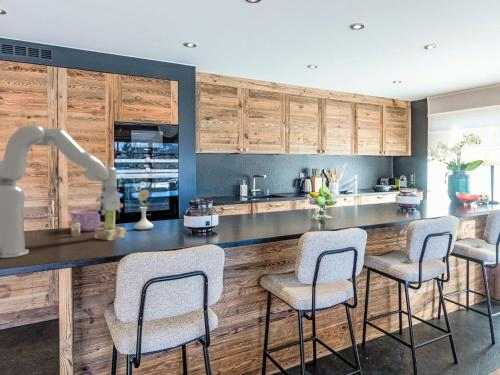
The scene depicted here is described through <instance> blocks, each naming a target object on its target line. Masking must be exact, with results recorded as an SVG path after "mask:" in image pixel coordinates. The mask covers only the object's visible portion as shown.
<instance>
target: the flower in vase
mask: <svg viewBox="0 0 500 375" xmlns="http://www.w3.org/2000/svg"><path fill="white" fill-rule="evenodd" d="M149 196H150V191H149V190H147V189H142V190H140V192H138V196H137V200H138V201H139V203H141V204H142V205H144V206H140V207H139V209H140V211H141V218H140V220H139V221H138V222H137V223H136V224H135V225H134V226H133V227H134V228H135V229H136V230H150V229H152V228H154V224H153V223H152V222H150V221H149V220H148V219H147V216H146V215H147V214H146V213H147V209H148V206H150V205H151V204H150V202H149V201H147V199H148V198H149ZM143 201H145V203H144V202H143Z"/></svg>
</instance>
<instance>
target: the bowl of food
mask: <svg viewBox="0 0 500 375" xmlns="http://www.w3.org/2000/svg"><path fill="white" fill-rule="evenodd" d="M69 215H70V217H71V221H72V223H80V232H81V231H82V232H90V231H91V232H92V231H95V229H97V228H101V226H102V225H103V224H104V222H100V215H99V213H98V212H97V210H96V208H94V209H93V208H92V209H91V208H87V209H77V210H70V212H69Z"/></svg>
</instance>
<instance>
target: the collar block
mask: <svg viewBox="0 0 500 375" xmlns="http://www.w3.org/2000/svg"><path fill="white" fill-rule="evenodd" d="M94 238H95V239H98V240H105V241H113V240H118V239H122V238H127V228H126V227H122V226H115V229H113V230H105V226H104V227H99V228H96V229H95V230H94Z"/></svg>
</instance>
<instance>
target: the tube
mask: <svg viewBox="0 0 500 375" xmlns="http://www.w3.org/2000/svg"><path fill="white" fill-rule="evenodd" d="M115 212H116V211H115V210H112V211H106V212H105V213H104V215H105V222H103V224H104V225H103V226H104V227H105V230H113V229H115V227H116V219H115Z"/></svg>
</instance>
